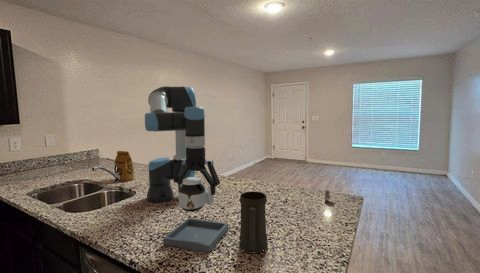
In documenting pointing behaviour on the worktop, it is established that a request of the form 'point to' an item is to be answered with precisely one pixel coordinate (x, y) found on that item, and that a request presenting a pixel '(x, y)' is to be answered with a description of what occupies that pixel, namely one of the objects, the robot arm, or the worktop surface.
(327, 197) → the architectural model
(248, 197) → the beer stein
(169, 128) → the robot arm
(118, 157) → the coffee package
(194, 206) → the spread jar
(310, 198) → the worktop surface
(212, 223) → the tray
